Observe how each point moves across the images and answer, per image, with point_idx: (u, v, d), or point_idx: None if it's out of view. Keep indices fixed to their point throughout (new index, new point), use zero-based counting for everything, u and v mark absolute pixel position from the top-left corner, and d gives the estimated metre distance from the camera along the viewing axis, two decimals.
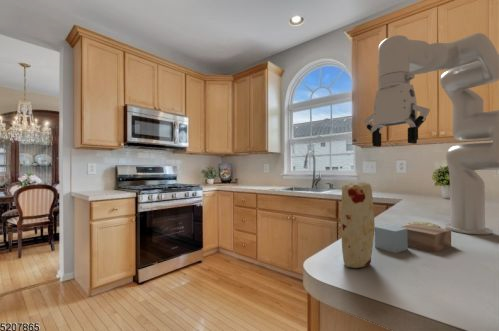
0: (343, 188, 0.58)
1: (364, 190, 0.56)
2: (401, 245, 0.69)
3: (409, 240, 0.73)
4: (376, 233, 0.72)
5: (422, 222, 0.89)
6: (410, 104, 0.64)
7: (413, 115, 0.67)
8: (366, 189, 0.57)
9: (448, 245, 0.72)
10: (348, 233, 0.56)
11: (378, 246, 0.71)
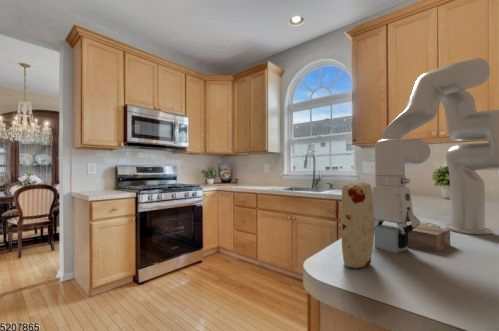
0: (343, 188, 0.58)
1: (364, 190, 0.56)
2: None
3: (410, 240, 0.73)
4: (376, 233, 0.72)
5: (422, 222, 0.89)
6: (406, 209, 0.67)
7: None
8: (366, 189, 0.57)
9: (448, 245, 0.72)
10: (348, 233, 0.56)
11: (378, 246, 0.71)
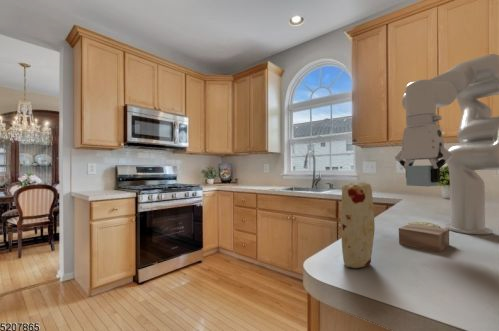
0: (343, 188, 0.58)
1: (364, 190, 0.56)
2: None
3: (411, 241, 0.73)
4: (407, 171, 0.76)
5: (422, 222, 0.89)
6: (438, 144, 0.70)
7: (440, 152, 0.73)
8: (366, 189, 0.57)
9: (447, 244, 0.73)
10: (348, 233, 0.56)
11: (410, 183, 0.75)
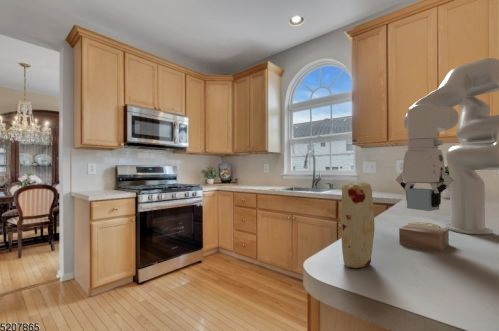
0: (343, 188, 0.58)
1: (364, 190, 0.56)
2: None
3: (412, 241, 0.73)
4: (408, 194, 0.75)
5: (422, 222, 0.89)
6: (439, 169, 0.70)
7: (441, 176, 0.73)
8: (366, 189, 0.57)
9: (447, 244, 0.73)
10: (348, 233, 0.56)
11: (410, 206, 0.75)
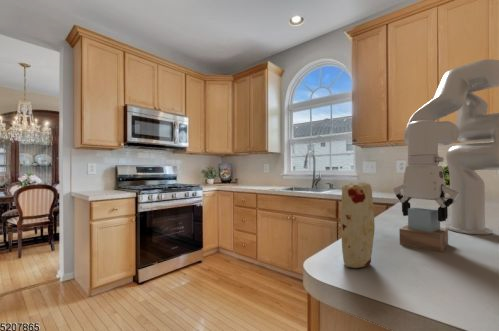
0: (343, 188, 0.58)
1: (364, 190, 0.56)
2: (435, 224, 0.72)
3: (412, 241, 0.73)
4: (409, 214, 0.75)
5: None
6: (440, 186, 0.70)
7: (442, 192, 0.73)
8: (366, 189, 0.57)
9: (446, 244, 0.73)
10: (348, 233, 0.56)
11: (412, 227, 0.75)
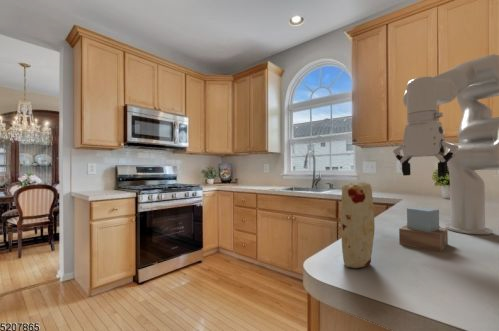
0: (343, 188, 0.58)
1: (364, 190, 0.56)
2: (433, 224, 0.72)
3: (412, 241, 0.73)
4: (408, 214, 0.75)
5: None
6: (439, 141, 0.70)
7: (441, 149, 0.73)
8: (366, 189, 0.57)
9: (446, 244, 0.73)
10: (348, 233, 0.56)
11: (411, 226, 0.75)
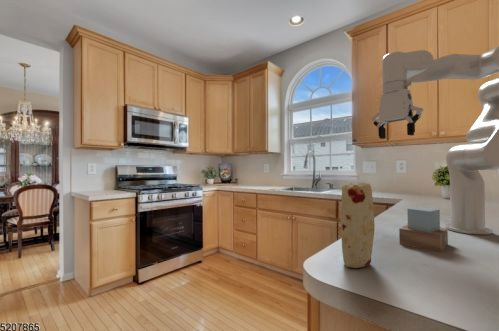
0: (343, 188, 0.58)
1: (364, 190, 0.56)
2: (434, 224, 0.72)
3: (412, 241, 0.73)
4: (409, 214, 0.75)
5: None
6: (408, 105, 0.83)
7: (410, 113, 0.86)
8: (366, 189, 0.57)
9: (446, 244, 0.73)
10: (348, 233, 0.56)
11: (411, 227, 0.75)
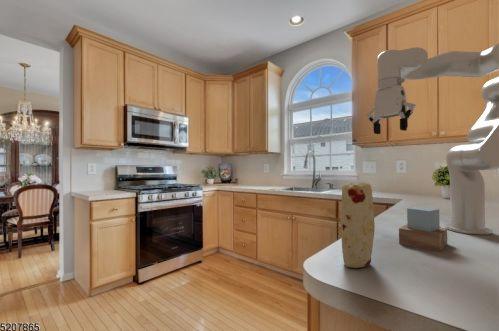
0: (343, 188, 0.58)
1: (364, 190, 0.56)
2: (434, 224, 0.72)
3: (412, 241, 0.73)
4: (408, 214, 0.76)
5: None
6: (401, 101, 0.86)
7: (404, 109, 0.89)
8: (366, 189, 0.57)
9: (445, 244, 0.73)
10: (348, 233, 0.56)
11: (411, 226, 0.75)
